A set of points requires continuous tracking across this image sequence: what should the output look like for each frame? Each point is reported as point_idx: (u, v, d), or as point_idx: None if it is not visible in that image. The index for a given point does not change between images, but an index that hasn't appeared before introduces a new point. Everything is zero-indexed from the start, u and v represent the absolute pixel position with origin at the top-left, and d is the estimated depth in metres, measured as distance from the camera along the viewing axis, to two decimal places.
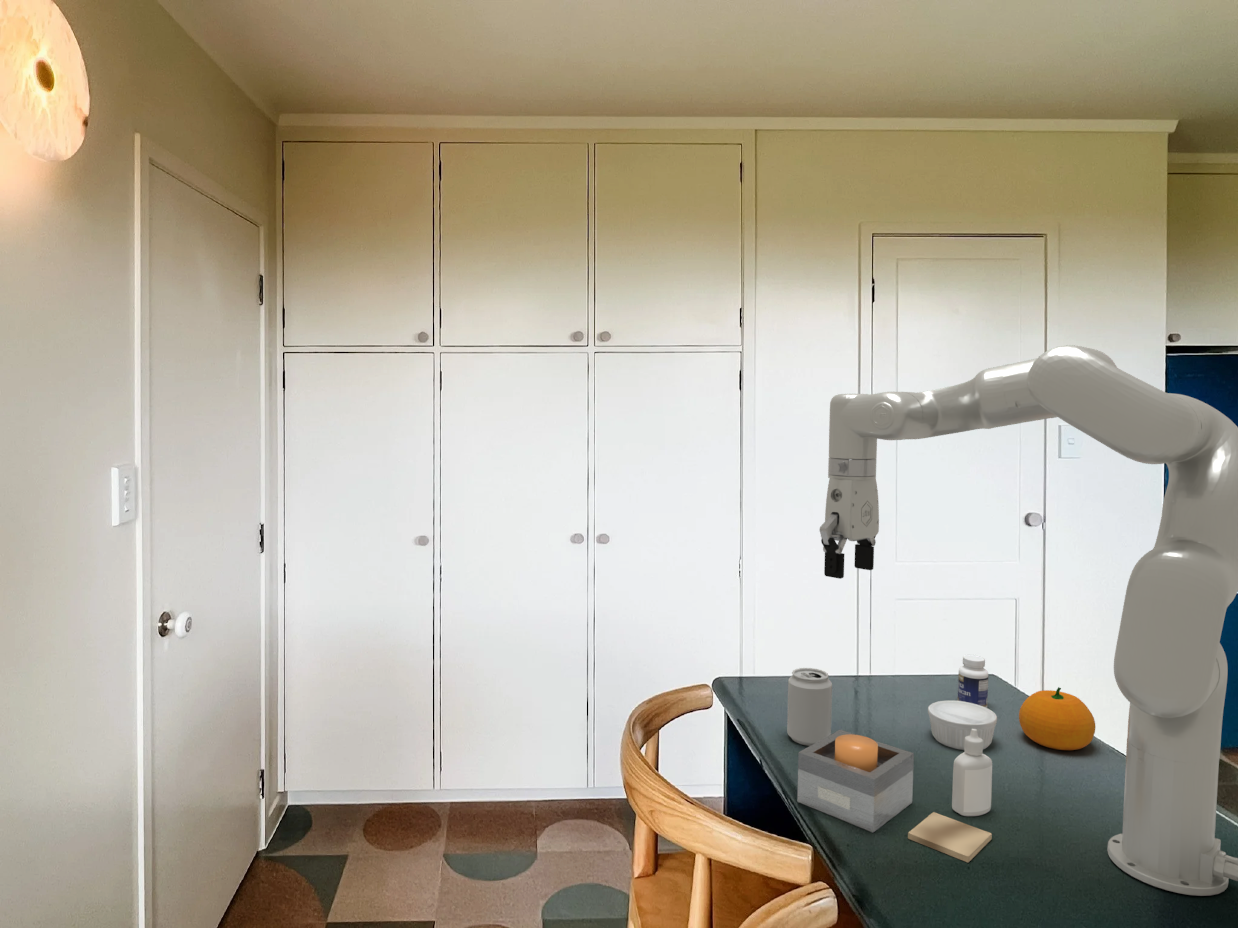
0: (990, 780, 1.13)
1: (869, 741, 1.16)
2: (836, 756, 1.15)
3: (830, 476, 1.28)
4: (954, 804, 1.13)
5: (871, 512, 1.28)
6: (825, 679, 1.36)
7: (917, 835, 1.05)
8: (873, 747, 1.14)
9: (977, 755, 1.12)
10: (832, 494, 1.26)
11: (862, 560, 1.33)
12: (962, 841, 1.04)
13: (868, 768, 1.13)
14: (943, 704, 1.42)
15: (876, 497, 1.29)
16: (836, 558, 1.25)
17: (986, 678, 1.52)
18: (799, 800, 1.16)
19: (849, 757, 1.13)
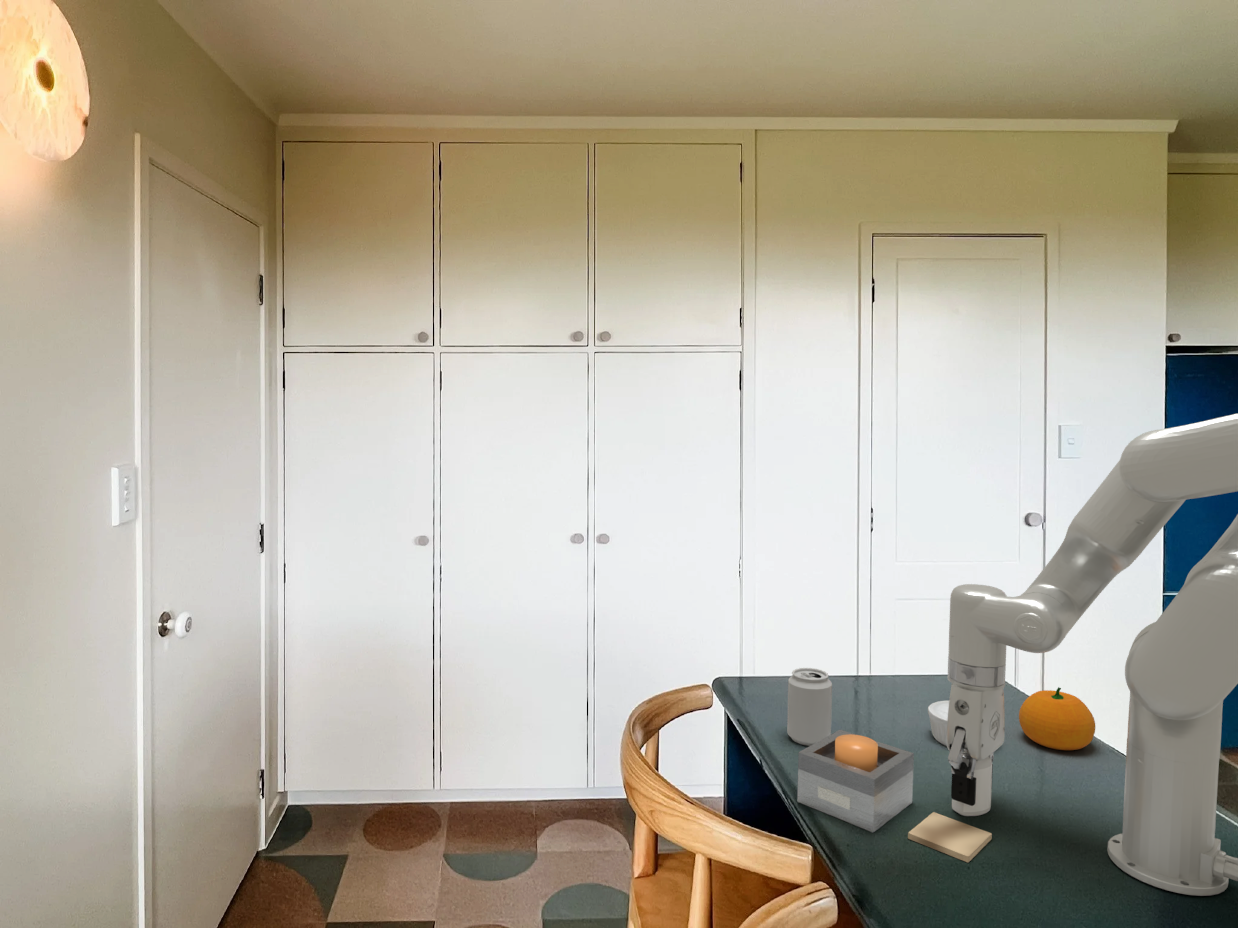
0: (990, 780, 1.13)
1: (869, 741, 1.16)
2: (836, 756, 1.15)
3: (952, 681, 1.12)
4: (954, 804, 1.13)
5: (998, 721, 1.12)
6: (825, 679, 1.36)
7: (917, 835, 1.05)
8: (873, 747, 1.14)
9: None
10: (956, 704, 1.11)
11: None
12: (962, 841, 1.04)
13: (868, 768, 1.13)
14: (943, 704, 1.42)
15: (1003, 702, 1.14)
16: (967, 784, 1.10)
17: None
18: (799, 800, 1.16)
19: (849, 757, 1.13)
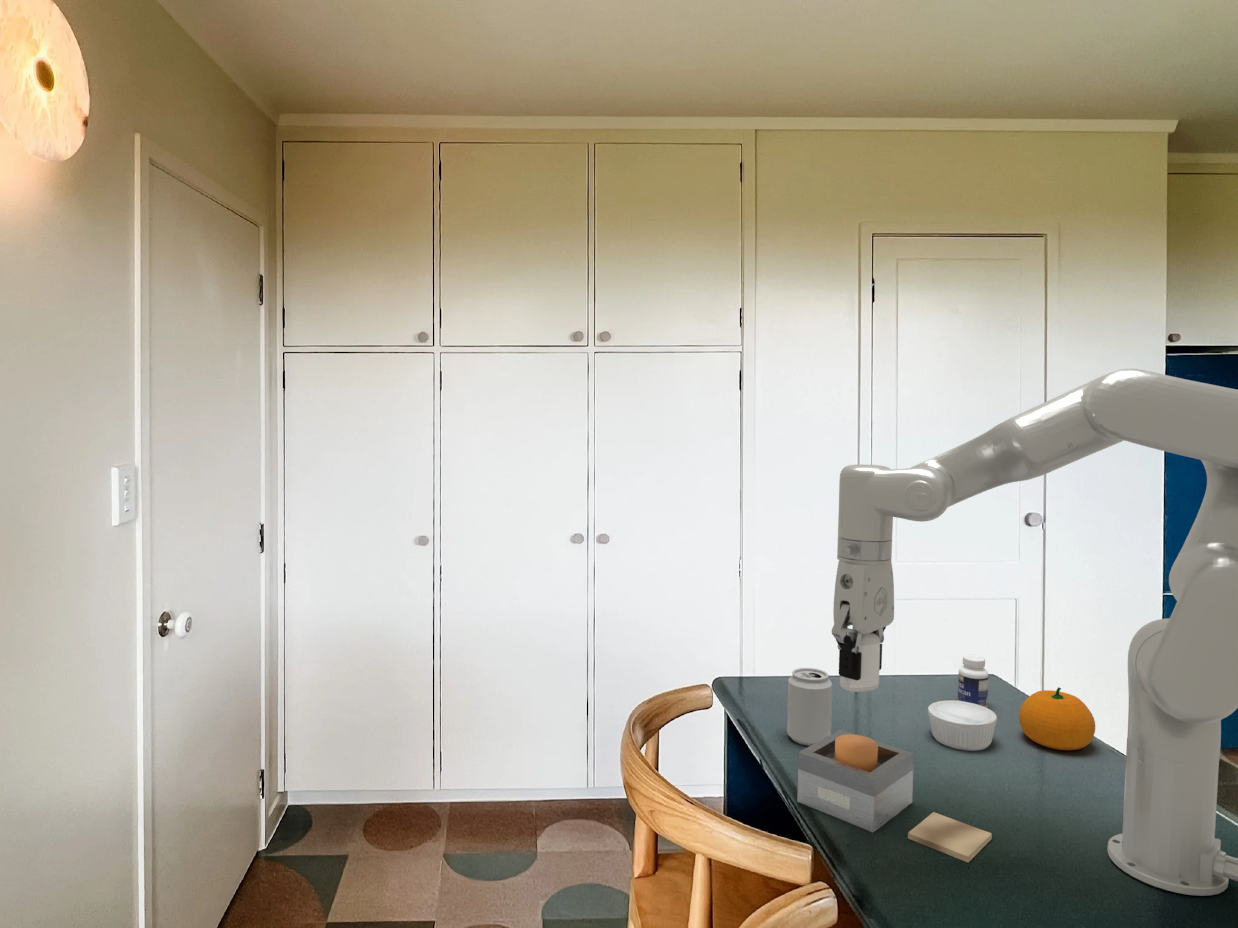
0: (877, 657, 1.14)
1: (869, 741, 1.16)
2: (836, 756, 1.15)
3: (839, 558, 1.13)
4: (842, 681, 1.14)
5: (886, 599, 1.13)
6: (825, 679, 1.36)
7: (917, 835, 1.05)
8: (873, 747, 1.14)
9: None
10: (842, 579, 1.12)
11: None
12: (962, 841, 1.04)
13: (868, 768, 1.13)
14: (943, 704, 1.42)
15: (891, 581, 1.15)
16: (852, 658, 1.11)
17: (986, 678, 1.52)
18: (799, 800, 1.16)
19: (849, 757, 1.13)
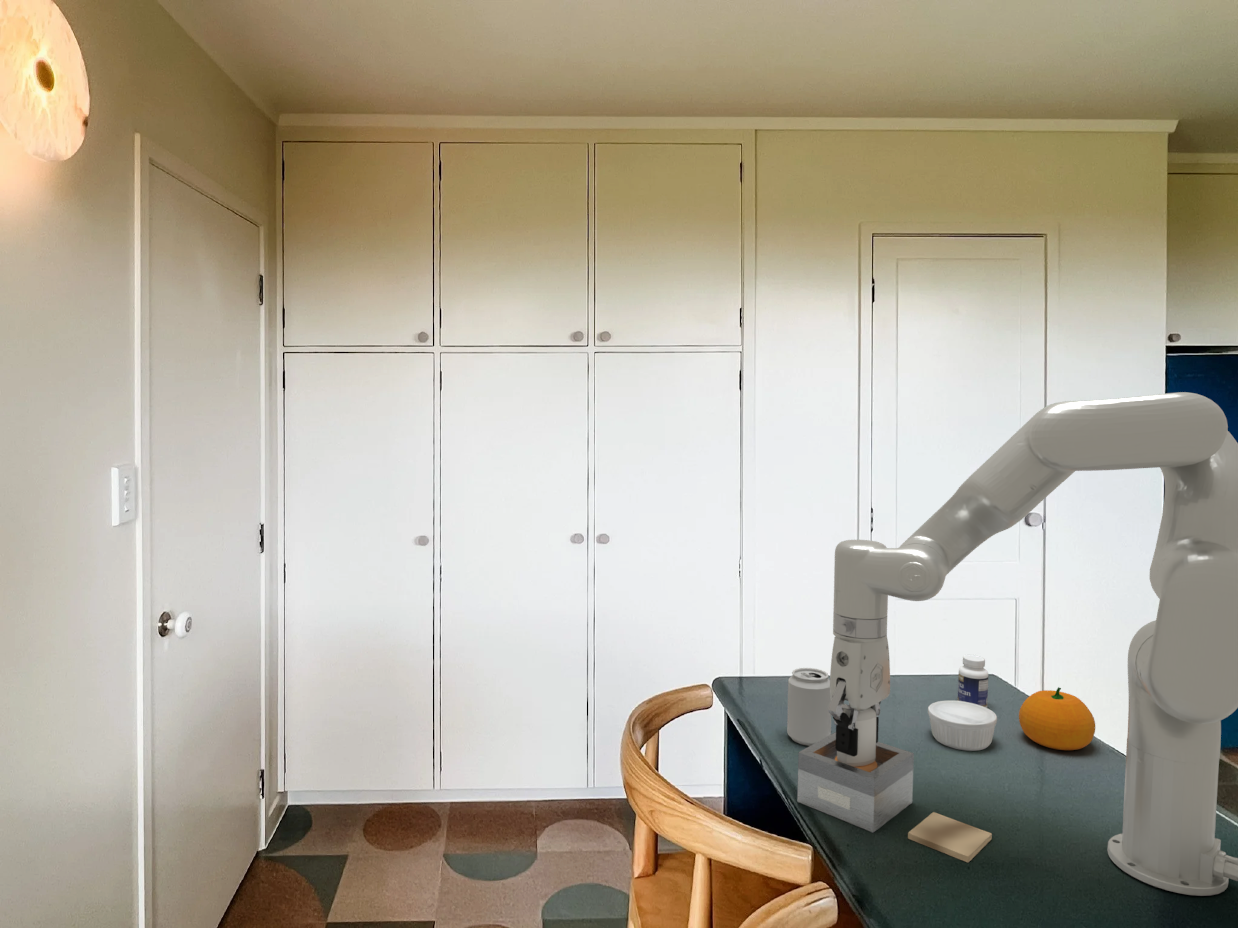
0: (874, 731, 1.15)
1: None
2: None
3: (835, 634, 1.14)
4: (838, 755, 1.15)
5: (881, 674, 1.14)
6: (825, 679, 1.36)
7: (917, 835, 1.05)
8: (872, 767, 1.14)
9: None
10: (838, 656, 1.12)
11: None
12: (962, 841, 1.04)
13: None
14: (943, 704, 1.42)
15: (887, 655, 1.15)
16: (849, 734, 1.12)
17: (986, 678, 1.52)
18: (799, 800, 1.16)
19: None
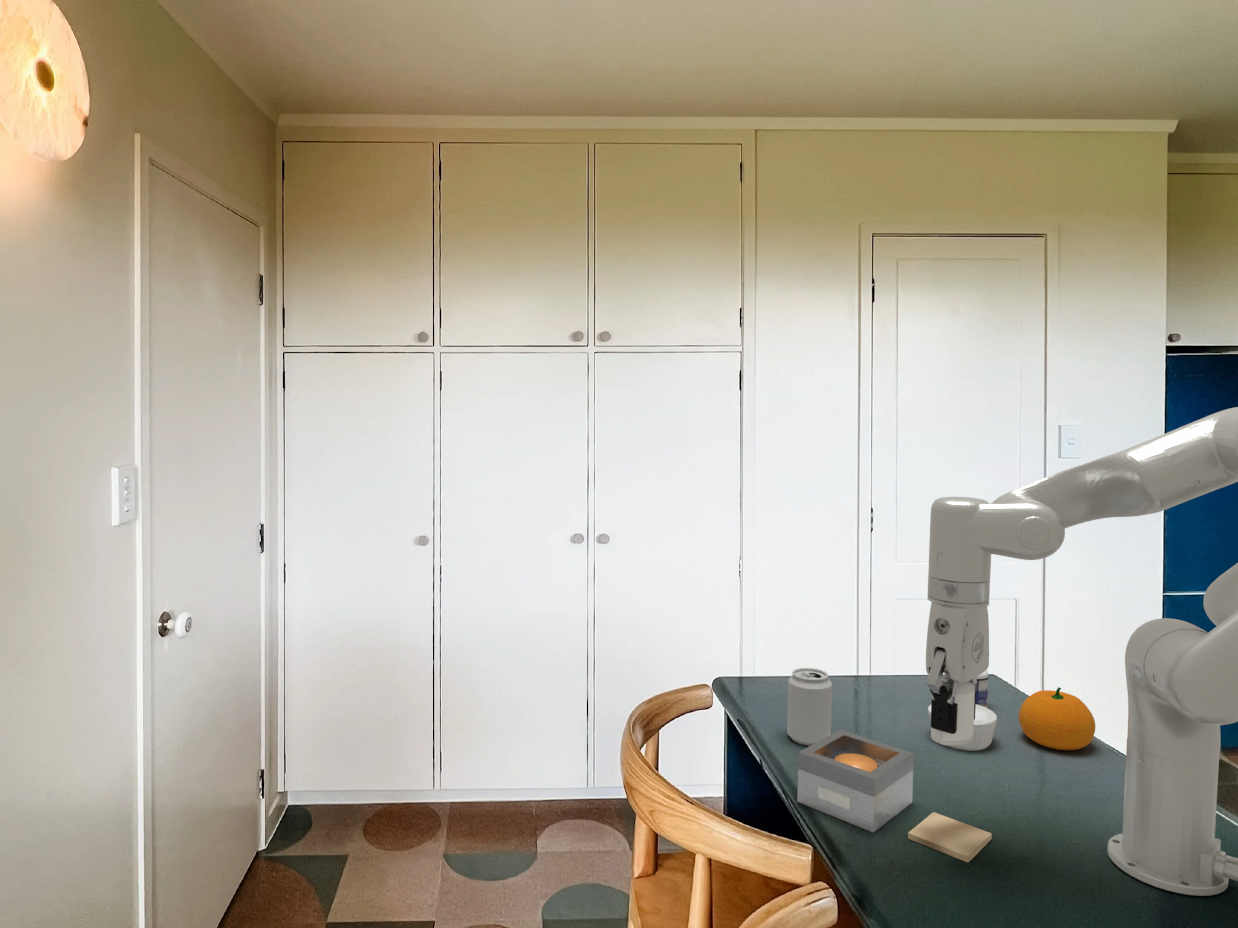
0: (972, 707, 1.04)
1: (868, 760, 1.16)
2: None
3: (932, 599, 1.03)
4: (933, 733, 1.05)
5: (982, 644, 1.04)
6: (825, 679, 1.36)
7: (917, 835, 1.05)
8: (872, 767, 1.14)
9: None
10: (935, 623, 1.02)
11: None
12: (962, 841, 1.04)
13: None
14: None
15: (987, 624, 1.05)
16: (947, 710, 1.02)
17: (986, 678, 1.52)
18: (799, 800, 1.16)
19: None
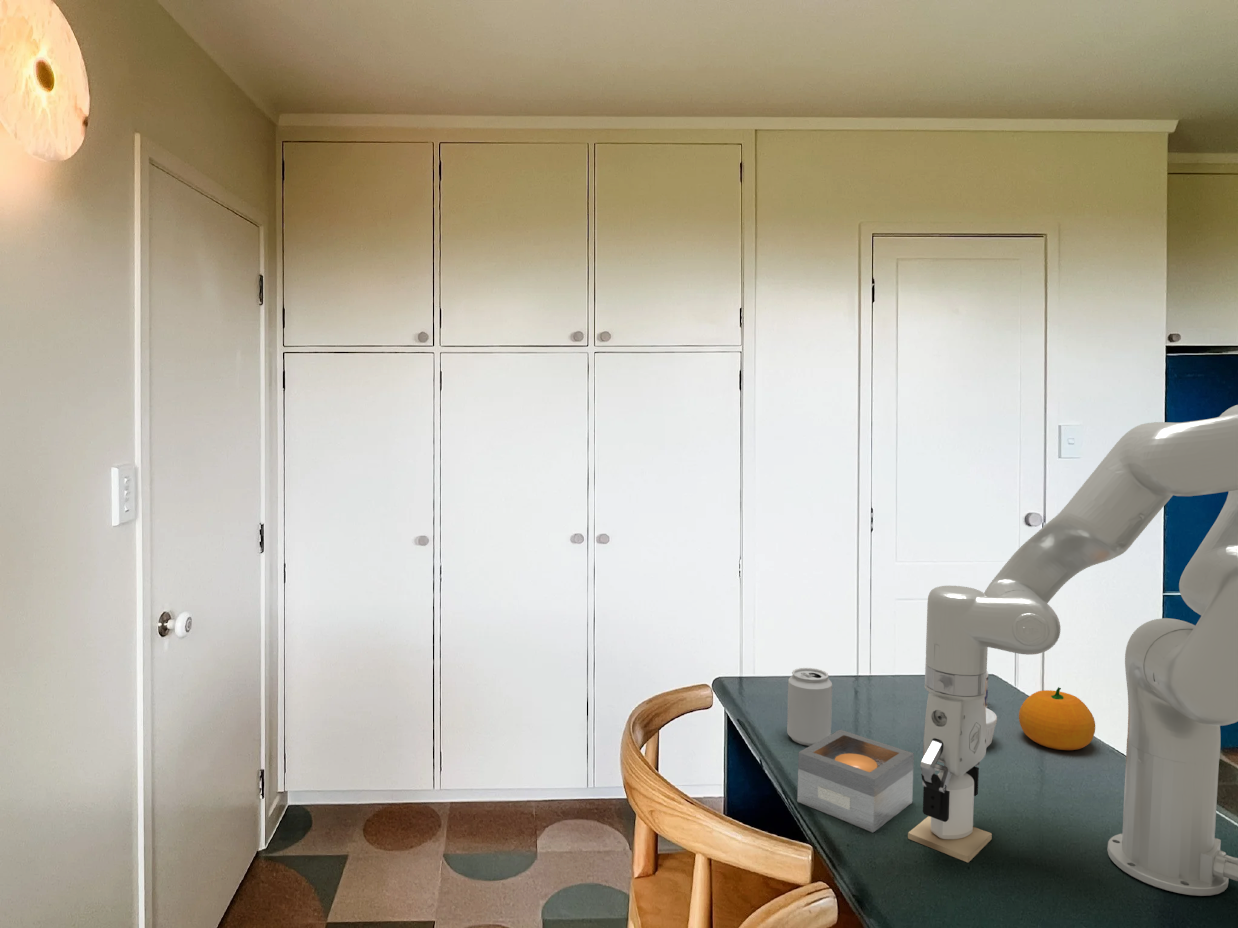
0: (972, 801, 1.05)
1: (868, 760, 1.16)
2: None
3: (929, 689, 1.04)
4: (933, 826, 1.06)
5: (979, 733, 1.04)
6: (825, 679, 1.36)
7: (917, 835, 1.05)
8: (872, 767, 1.14)
9: None
10: (933, 714, 1.03)
11: None
12: (962, 841, 1.04)
13: None
14: None
15: (984, 712, 1.06)
16: (939, 798, 1.01)
17: (986, 678, 1.52)
18: (799, 800, 1.16)
19: None
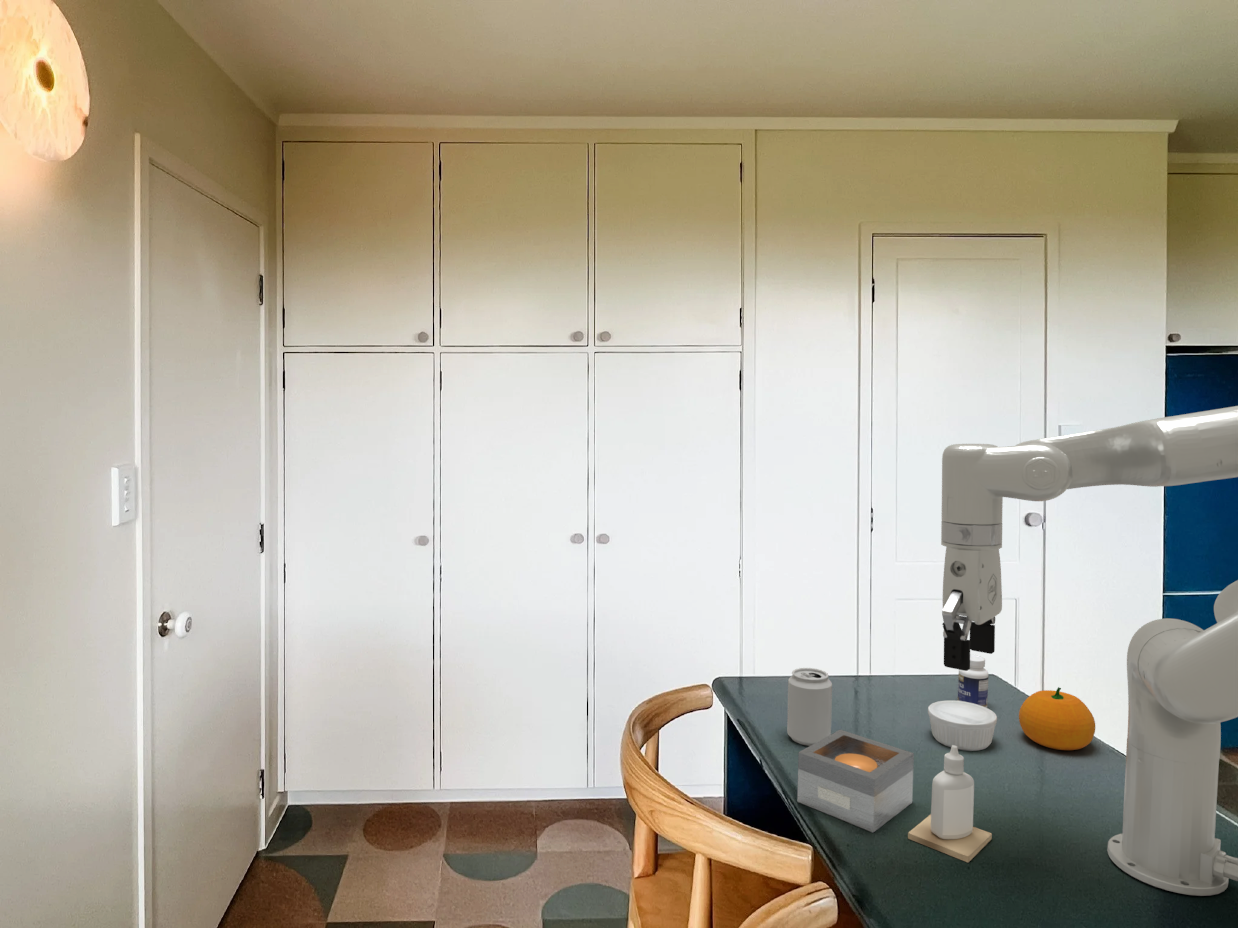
0: (972, 801, 1.05)
1: (868, 760, 1.16)
2: None
3: (946, 544, 1.05)
4: (933, 826, 1.06)
5: (996, 586, 1.06)
6: (825, 679, 1.36)
7: (917, 835, 1.05)
8: (872, 767, 1.14)
9: (957, 774, 1.04)
10: (951, 567, 1.04)
11: (980, 641, 1.10)
12: (962, 841, 1.04)
13: None
14: (943, 703, 1.42)
15: (999, 567, 1.07)
16: (961, 647, 1.02)
17: (986, 678, 1.52)
18: (799, 800, 1.16)
19: None
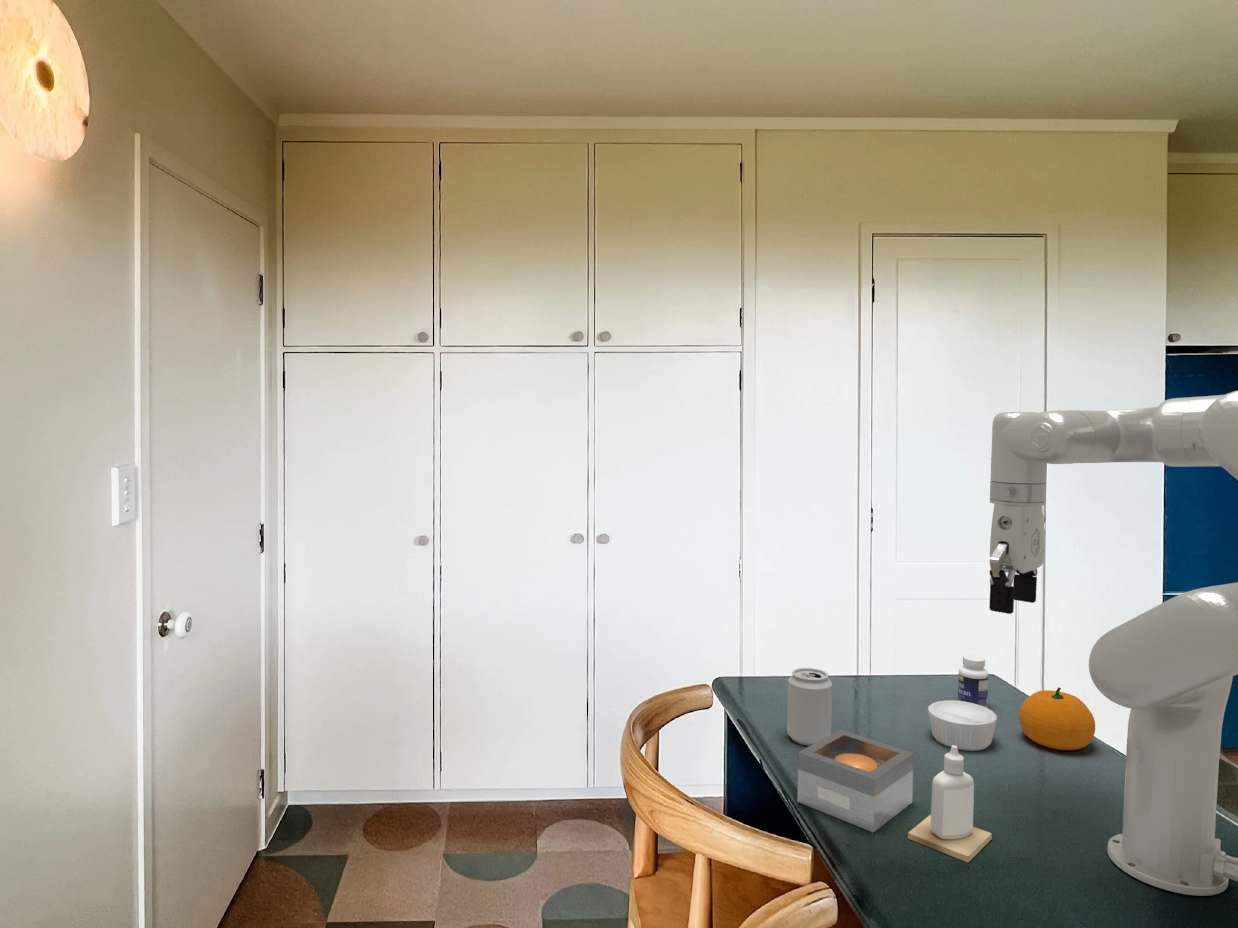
0: (972, 801, 1.05)
1: (868, 760, 1.16)
2: None
3: (994, 501, 1.17)
4: (933, 826, 1.06)
5: (1039, 541, 1.18)
6: (825, 679, 1.36)
7: (917, 835, 1.05)
8: (872, 767, 1.14)
9: (957, 774, 1.04)
10: (998, 521, 1.16)
11: (1023, 592, 1.22)
12: (962, 841, 1.04)
13: None
14: (943, 703, 1.42)
15: (1042, 524, 1.19)
16: (1005, 592, 1.14)
17: (986, 678, 1.52)
18: (799, 800, 1.16)
19: None
